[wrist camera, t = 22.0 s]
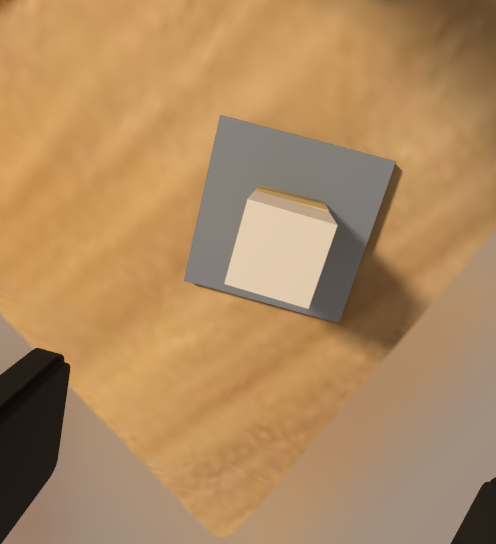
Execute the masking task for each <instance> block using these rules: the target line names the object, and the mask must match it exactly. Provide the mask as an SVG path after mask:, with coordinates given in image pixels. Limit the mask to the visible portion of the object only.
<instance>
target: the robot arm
mask: <svg viewBox="0 0 496 544" xmlns="http://www.w3.org/2000/svg"><path fill="white" fill-rule="evenodd" d="M69 374H70V365H69V364H68V363H65V362H64V356H63V355H61V354H58V353H54V352H51V351H47V350H44V349H40V348H35V349H34V350H32V351H31V352H29V353H28V354H27V355H26V356H25V357H23V358H22V359H21V360H19V361H18V362H17V363H15V364H14V365H13V366H12V367H10V368H9V369H8V370H6V371H5V372H4V373H3V374H1V375H0V544H1V543H2V542H3V540H4V539H5V538H6V537H7V535H8V534H9V532H10V531H11V530H12V528H13V527H14V526H15V524H16V523H17V522H18V520H19V519H20V517H21V516H22V515H23V513H24V512H25V511H26V509H27V508H28V507H29V505H30V504H31V503H32V501H33V500H34V498H35V497H36V496H37V494H38V493H39V491H40V490H41V489H42V487H43V486H44V485H45V483H46V482H47V481H48V479H49V478H50V476H51V475H52V473H53V471H54V469H55V467H56V463H57V460H58V453H59V446H60V439H61V431H62V424H63V416H64V410H65V402H66V396H67V388H68V381H69ZM451 544H496V478H494V479H492V480H491V481H490V482H485V483H484V484H483V485H482V487H481V488H480V490H479V492H478V494H477V496H476V498H475V500H474V501H473V503H472V505H471V507H470V509H469V511H468V513H467V515H466V516H465V518H464V520H463V522H462V524H461V526H460V528H459V529H458V531H457V533H456V535H455V537H454V539H453V540H452V542H451Z"/></svg>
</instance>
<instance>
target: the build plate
mask: <svg viewBox="0 0 496 544" xmlns="http://www.w3.org/2000/svg"><path fill="white" fill-rule="evenodd" d="M395 163H396V161H392V160H389V159H385V158H381V157H377V156H374V155H370V154H366V153H362V152H358V151H355V150H351V149H347V148H343V147H340V146H336V145H332V144H328V143H325V142H321V141H317V140H313V139H310V138H306V137H302V136H298V135H295V134H291V133H287V132H283V131H279V130H276V129H272V128H268V127H264V126H261V125H257V124H253V123H249V122H246V121H242V120H238V119H234V118H231V117H227V116H223V115H220V118H219V123H218V127H217V132H216V136H215V141H214V146H213V150H212V155H211V159H210V164H209V169H208V173H207V178H206V182H205V187H204V191H203V196H202V201H201V205H200V210H199V214H198V219H197V223H196V228H195V233H194V237H193V242H192V246H191V251H190V256H189V260H188V265H187V269H186V274H185V278H184V281H187V282H191V283H195V284H198V285H202V286H206V287H209V288H213V289H217V290H220V291H224V292H227V293H231V294H235V295H238V296H242V297H246V298H249V299H253V300H256V301H260V302H264V303H267V304H271V305H275V306H278V307H282V308H286V309H289V310H293V311H296V312H300V313H304V314H307V315H311V316H315V317H318V318H322V319H326V320H329V321H333V322H336V323H339V322H340V319H341V317H342V314H343V311H344V308H345V305H346V302H347V300H348V297H349V294H350V291H351V288H352V285H353V282H354V280H355V277H356V274H357V271H358V268H359V265H360V263H361V260H362V257H363V254H364V251H365V248H366V245H367V243H368V240H369V237H370V234H371V231H372V228H373V226H374V223H375V220H376V217H377V214H378V211H379V208H380V206H381V203H382V200H383V197H384V194H385V191H386V189H387V186H388V183H389V180H390V177H391V174H392V171H393V169H394V166H395ZM259 185H262V186H266V187H270V188H273V189H277V190H281V191H285V192H289V193H293V194H297V195H300V196H304V197H308V198H312V199H316V200H320V201H323V202H324V203H325V205H326V206H327V208H328V209H329V212H330V214H331V216H332V217H333V219H334V220H335V222H336V224H337V225H338V226H337V228H336V231H335V234H334V237H333V240H332V243H331V246H330V249H329V251H328V254H327V257H326V260H325V263H324V266H323V269H322V272H321V274H320V277H319V280H318V283H317V286H316V289H315V292H314V295H313V297H312V300H311V303H310V306H309V309H307V308H303V307H300V306H297V305H293V304H290V303H287V302H283V301H280V300H276V299H273V298H270V297H266V296H263V295H260V294H256V293H253V292H249V291H246V290H243V289H239V288H236V287H233V286H229V285H226V284H224V283H225V279H226V275H227V272H228V268H229V264H230V261H231V257H232V253H233V250H234V246H235V242H236V239H237V235H238V232H239V228H240V224H241V221H242V217H243V213H244V210H245V206H246V202H247V199H248V198H249V197H250V195H251V194H252V193H253V192H254V191H255V190H256V189H257V188H258V187H259Z"/></svg>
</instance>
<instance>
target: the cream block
mask: <svg viewBox="0 0 496 544" xmlns="http://www.w3.org/2000/svg"><path fill="white" fill-rule="evenodd" d="M337 226H338V225H337V224H336V222H335V220H334V219H333V217H332V216H331V214H330V212H328V211H324V210H321V209H317V208H314V207H311V206H307V205H304V204H300V203H297V202H293V201H290V200H287V199H283V198H280V197H276V196H273V195H270V194H266V193H263V192H259V191H256V190H255V191H254V192H253V193H252V194H251V195H250V197H249V198H248V199H247V202H246V206H245V210H244V213H243V217H242V221H241V224H240V228H239V232H238V235H237V239H236V242H235V246H234V250H233V253H232V257H231V261H230V264H229V268H228V272H227V275H226V279H225V283H224V284H226V285H229V286H233V287H236V288H239V289H243V290H246V291H249V292H253V293H256V294H260V295H263V296H266V297H270V298H273V299H276V300H280V301H283V302H287V303H290V304H293V305H297V306H300V307H303V308H307V309H309V306H310V303H311V300H312V297H313V295H314V292H315V289H316V286H317V283H318V280H319V277H320V274H321V272H322V269H323V266H324V263H325V260H326V257H327V254H328V251H329V249H330V246H331V243H332V240H333V237H334V234H335V231H336V228H337Z"/></svg>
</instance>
